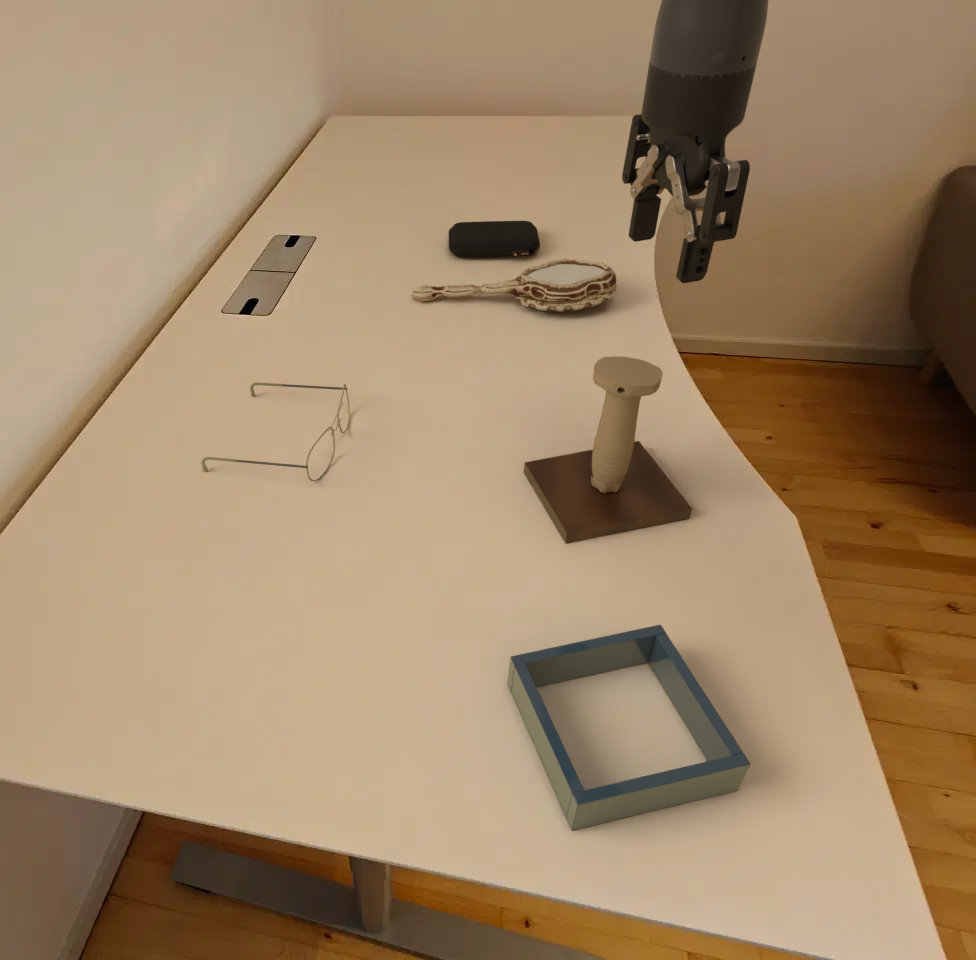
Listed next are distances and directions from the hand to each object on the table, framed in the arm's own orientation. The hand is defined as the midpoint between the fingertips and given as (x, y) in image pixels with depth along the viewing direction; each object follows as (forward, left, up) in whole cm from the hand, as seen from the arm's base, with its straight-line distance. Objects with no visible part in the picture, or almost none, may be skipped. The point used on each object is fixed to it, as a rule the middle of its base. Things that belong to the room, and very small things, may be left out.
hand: (664, 258), depth 73 cm
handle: (0, -2, -28) cm, 28 cm away
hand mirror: (-5, -45, -29) cm, 54 cm away
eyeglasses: (+33, -22, -29) cm, 49 cm away
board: (0, -2, -29) cm, 29 cm away
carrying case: (-9, -63, -29) cm, 70 cm away
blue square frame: (+12, +26, -29) cm, 41 cm away
